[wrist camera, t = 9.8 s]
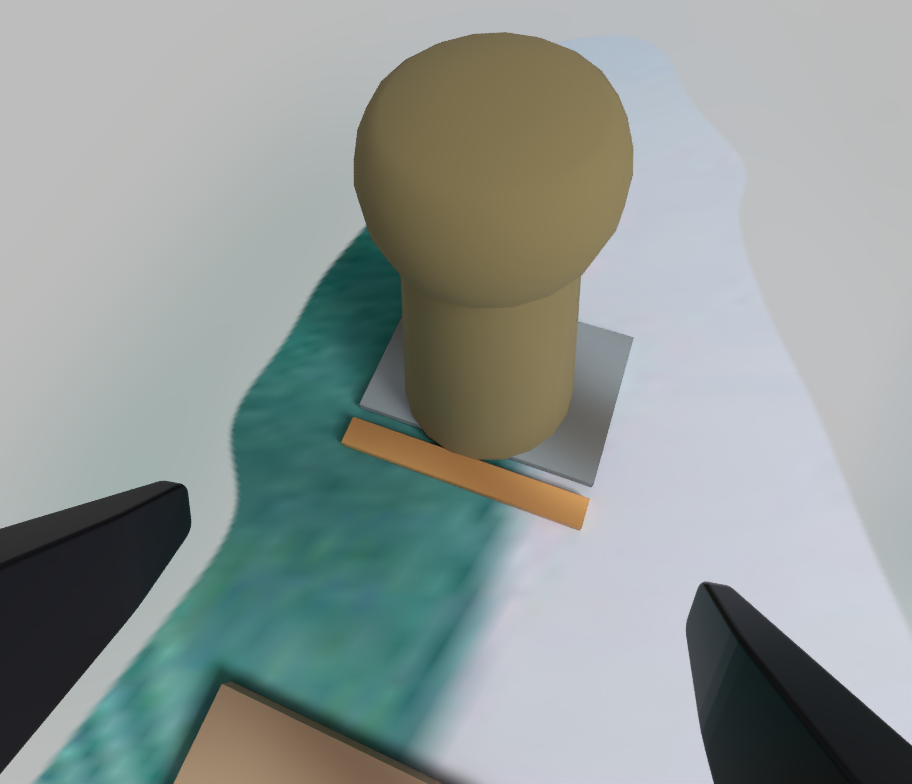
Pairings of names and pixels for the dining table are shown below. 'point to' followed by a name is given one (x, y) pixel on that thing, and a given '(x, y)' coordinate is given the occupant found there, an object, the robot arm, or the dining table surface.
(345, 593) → the dining table surface
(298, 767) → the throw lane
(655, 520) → the dining table surface
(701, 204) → the dining table surface
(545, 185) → the cork
